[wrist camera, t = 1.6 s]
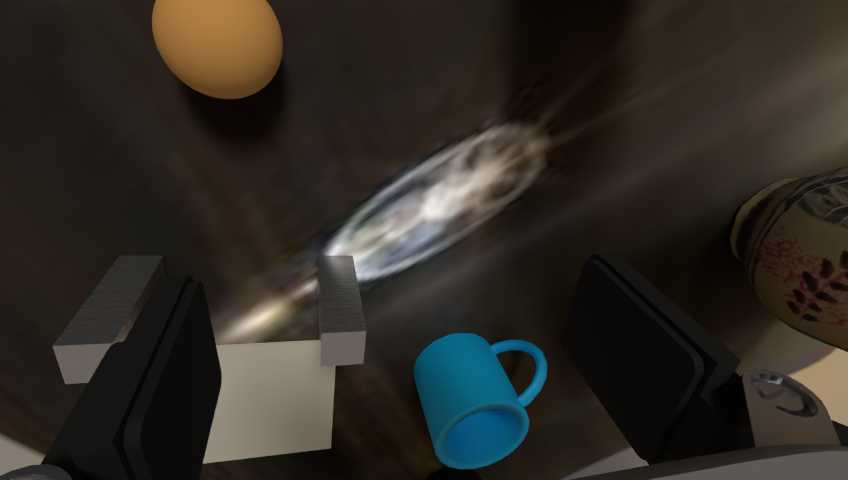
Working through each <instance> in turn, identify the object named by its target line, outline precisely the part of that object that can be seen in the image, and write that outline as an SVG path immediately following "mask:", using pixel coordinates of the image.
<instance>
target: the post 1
mask: <svg viewBox="0 0 848 480" xmlns="http://www.w3.org/2000/svg"><path fill="white" fill-rule="evenodd" d="M160 277H166V271H165V265H164V258H163V256H119V258H118V259H117V260H116V262H115V263H114V264H113V266H112V267H111V268H110V270H109V271H108V272H107V274H106V275H105V276H104V278H103V279H102V280H101V282H100V283H99V284H98V286H97V287H96V289H95V290H94V291H93V293H92V294H91V295H90V297H89V298H88V299H87V301H86V302H85V303H84V305H83V306H82V307H81V309H80V310H79V311H78V313H77V314H76V315H75V317H74V318H73V319H72V321H71V322H70V323H69V325H68V326H67V328H66V329H65V330H64V332H63V333H62V334H61V336H60V337H59V338H58V340H57V341H56V342H55V344H54V345H53V349H54V352H55V355H56V358H57V361H58V364H59V367H60V370H61V373H62V376H63V379H64V381H65V384H73V383H88V382H89V381H90V379H91V377H92V375H93V374H94V372H95V370H96V369H97V367H98V365H99V363H100V362H101V360H102V358H103V357H104V355H105V353H106V352H107V350H108V349H109V348H110V346H111V345H113V344H114V343H116V342H124V340H125V339H126V337H127V335H128V333H129V331H130V330H131V328H132V326H133V324H134V322H135V320H136V319H137V317H138V315H139V313H140V311H141V310H142V308H143V306H144V304H145V302H146V300H147V299H148V297H149V295H150V293H151V291H152V290H153V288H154V286H155V284H156V282H157V281H158V279H159V278H160Z"/></svg>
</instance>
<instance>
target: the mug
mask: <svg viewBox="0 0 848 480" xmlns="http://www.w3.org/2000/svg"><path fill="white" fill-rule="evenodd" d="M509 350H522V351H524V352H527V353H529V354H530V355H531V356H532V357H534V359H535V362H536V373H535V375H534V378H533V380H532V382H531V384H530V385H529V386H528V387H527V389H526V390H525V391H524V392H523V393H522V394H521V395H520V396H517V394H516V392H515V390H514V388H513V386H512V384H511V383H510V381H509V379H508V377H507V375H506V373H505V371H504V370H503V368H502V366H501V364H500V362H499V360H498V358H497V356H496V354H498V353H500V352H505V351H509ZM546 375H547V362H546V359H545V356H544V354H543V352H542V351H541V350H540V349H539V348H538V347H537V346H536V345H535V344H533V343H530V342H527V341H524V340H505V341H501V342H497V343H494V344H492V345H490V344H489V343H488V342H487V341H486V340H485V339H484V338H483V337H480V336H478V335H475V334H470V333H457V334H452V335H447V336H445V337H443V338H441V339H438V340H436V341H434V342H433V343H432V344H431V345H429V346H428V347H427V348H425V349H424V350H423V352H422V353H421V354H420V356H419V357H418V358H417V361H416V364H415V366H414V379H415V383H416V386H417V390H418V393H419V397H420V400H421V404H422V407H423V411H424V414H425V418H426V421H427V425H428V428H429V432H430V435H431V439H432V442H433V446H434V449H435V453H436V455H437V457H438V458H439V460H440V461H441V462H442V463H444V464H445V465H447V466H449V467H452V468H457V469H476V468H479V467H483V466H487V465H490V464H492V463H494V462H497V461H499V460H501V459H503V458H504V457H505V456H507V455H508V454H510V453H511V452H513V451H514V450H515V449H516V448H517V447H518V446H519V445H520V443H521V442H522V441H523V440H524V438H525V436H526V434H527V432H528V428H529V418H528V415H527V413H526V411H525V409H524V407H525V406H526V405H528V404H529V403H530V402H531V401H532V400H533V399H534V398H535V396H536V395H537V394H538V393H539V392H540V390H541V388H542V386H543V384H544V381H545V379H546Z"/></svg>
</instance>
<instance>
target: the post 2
mask: <svg viewBox="0 0 848 480" xmlns="http://www.w3.org/2000/svg"><path fill="white" fill-rule="evenodd" d="M318 312H319V339H320V366H321V367H323V366H338V365H353V364H363V360H364V349H365V339H366V327H365V322H364V316H363V311H362V305H361V299H360V294H359V288H358V283H357V277H356V272H355V266H354V261H353V256H318Z"/></svg>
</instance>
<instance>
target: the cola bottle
mask: <svg viewBox="0 0 848 480" xmlns="http://www.w3.org/2000/svg"><path fill="white" fill-rule="evenodd" d="M427 480H482V479H481V478H480V476H479V475H478V474H477V473H476V472H475V471H473V470H471V469H457V468H452V467H449V468H445V469H443V470H440V471H438V472H436V473H435V474H433V475H432V476H430V477H429V478H428V479H427Z"/></svg>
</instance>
